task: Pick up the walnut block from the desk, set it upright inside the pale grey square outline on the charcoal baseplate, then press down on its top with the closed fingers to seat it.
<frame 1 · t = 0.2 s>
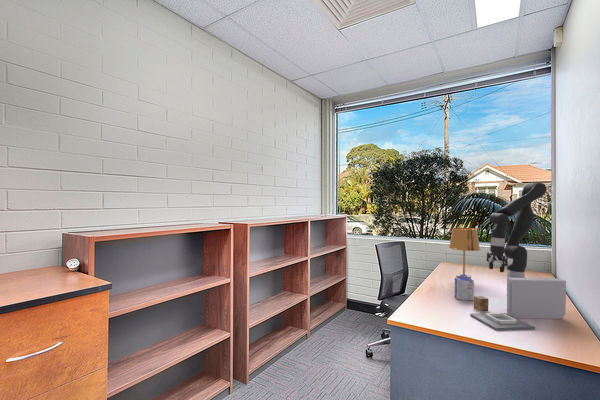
hand: (496, 270, 188), 17 cm above the table, tool pointing down, fingers open, 8 cm apart
baseplate: (500, 322, 150), on the table
walnut block: (480, 309, 167), on the table
ink cartridge box: (463, 298, 187), on the table
lamp: (463, 282, 224), on the table
game console: (534, 316, 159), on the table
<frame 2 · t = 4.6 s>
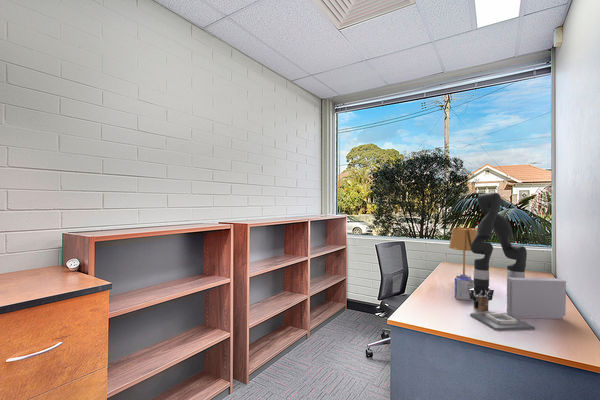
hand: (480, 307, 167), 1 cm above the table, tool pointing down, fingers closed on walnut block, 5 cm apart
walnut block: (480, 309, 167), on the table, touching gripper
everything else where it was.
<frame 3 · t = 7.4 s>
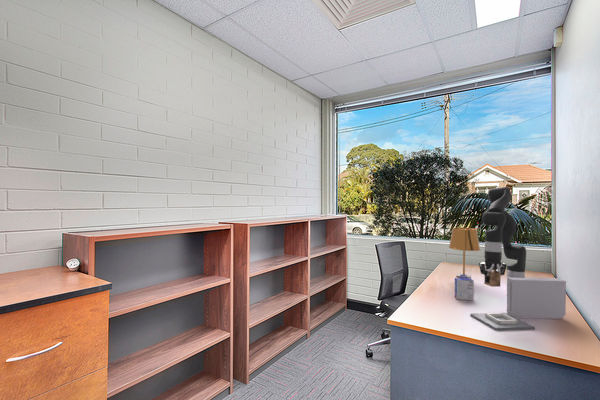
hand: (492, 282, 156), 18 cm above the table, tool pointing down, fingers closed on walnut block, 5 cm apart
walnut block: (492, 285, 156), point 17 cm above the table, touching gripper
everything else where it was.
when the fingers open (4 cm above the table, at t = 10.3 s): walnut block drops 1 cm, resting on baseplate.
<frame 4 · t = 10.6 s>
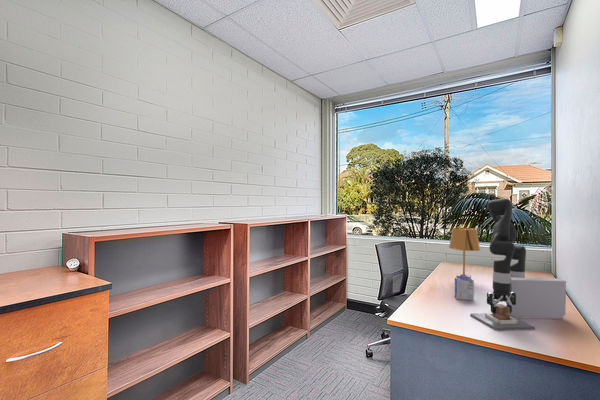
hand: (501, 313, 150), 5 cm above the table, tool pointing down, fingers open, 8 cm apart
walnut block: (501, 319, 150), point 1 cm above the table, touching baseplate
everything else where it was.
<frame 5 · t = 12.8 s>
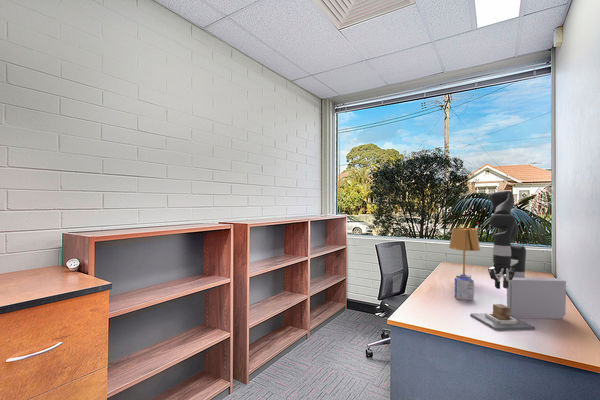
hand: (501, 288, 150), 17 cm above the table, tool pointing down, fingers open, 3 cm apart
nothing on the table moved.
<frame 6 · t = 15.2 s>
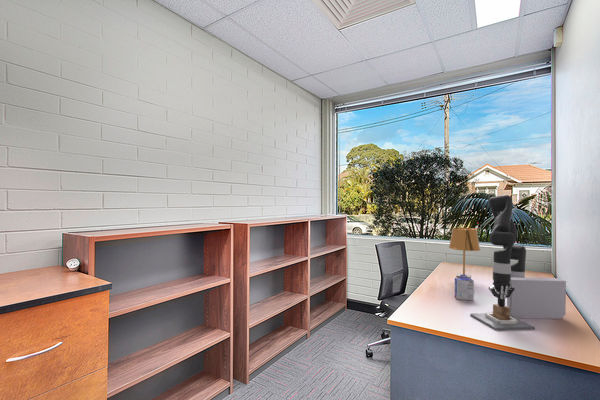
hand: (501, 305, 150), 8 cm above the table, tool pointing down, fingers closed
walnut block: (501, 319, 150), point 1 cm above the table, touching baseplate, gripper
everything else where it was.
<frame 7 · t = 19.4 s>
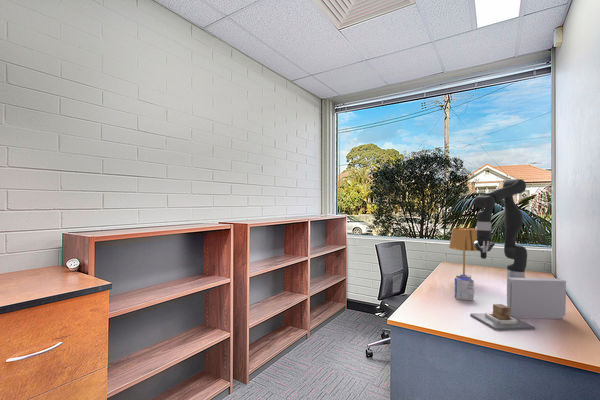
hand: (483, 258, 177), 27 cm above the table, tool pointing down, fingers closed
walnut block: (501, 319, 150), point 1 cm above the table, touching baseplate
everything else where it was.
at the end: walnut block 0.1 cm off-centre on the baseplate, point 1.2 cm above the baseplate's base; walnut block tilted 0°; the gripper is holding nothing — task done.
